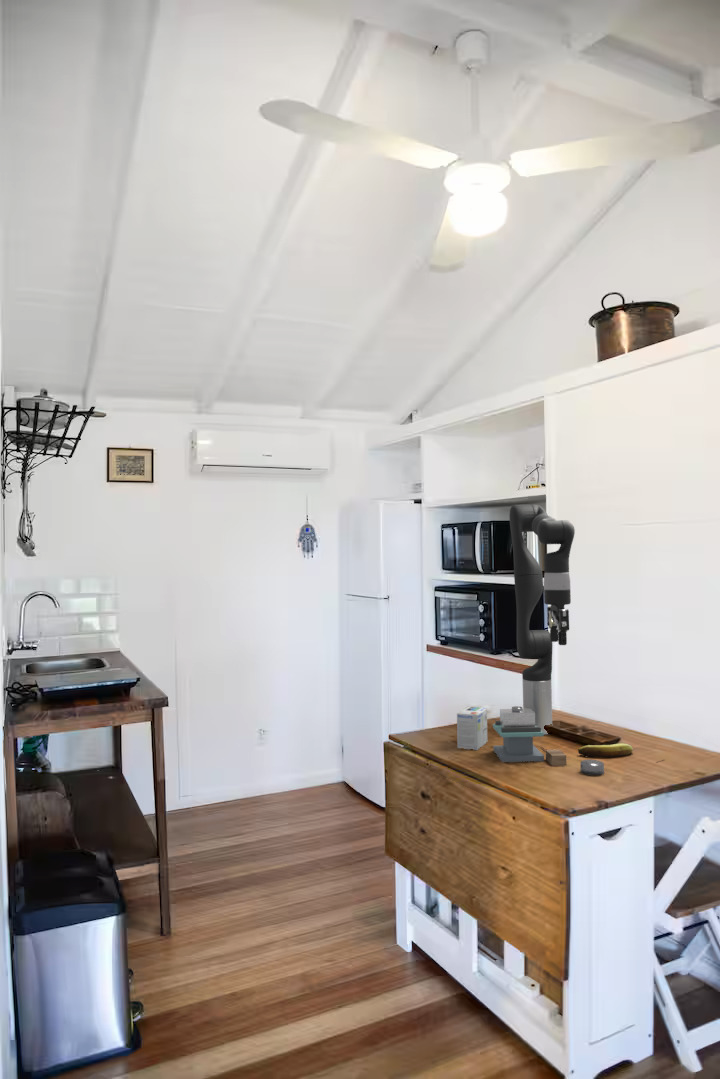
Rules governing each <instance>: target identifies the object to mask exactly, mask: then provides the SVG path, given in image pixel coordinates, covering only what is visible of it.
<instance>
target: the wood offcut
mask: <svg viewBox="0 0 720 1079" xmlns="http://www.w3.org/2000/svg"><path fill="white" fill-rule="evenodd" d="M566 758H567V754H565V753H564V752H563V751H562V750H561V749H548V750H546V751H545V761H547V762H548V763H549V764H550V765H551V766H552V767H553V766H555V767H556V766H557V767H558V766H567V763H568V762H567V759H566Z"/></svg>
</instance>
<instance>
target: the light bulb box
mask: <svg viewBox="0 0 720 1079" xmlns="http://www.w3.org/2000/svg"><path fill="white" fill-rule="evenodd" d="M456 728H457V729H456V731H457V732H456V733H457V734H456V736H457V739H456V740H457V743H456V744H457V749H461V748H464V749H463V750H470V749H473V750H472V751H479V749H480V747H481V748H482V747H483V746H485V745H486V744H487V743H488V708H487V707H478V706H477V707H476V706H467V707H465V708H463V709H462V710H461V711H459V712H457V713H456ZM486 742H487V743H486Z"/></svg>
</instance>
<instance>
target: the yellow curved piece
mask: <svg viewBox="0 0 720 1079" xmlns="http://www.w3.org/2000/svg"><path fill="white" fill-rule="evenodd" d="M541 749H542V750H543V751H544V752H546V751H545V750H547V749H543V748H542V747H541ZM633 750H634V749H633V747H632V745H630V744H627V743H614V744H602V745H599V744H598V745H597V744H595V745H592V744H591V745H590V744H588V745H583V746H582V747H579V748H578V749H577V752H578V754H579V755H582V756H584V757H585V756H587V757H586V758H592V757H607V758H618V756H619V757H624V755H626V756H629V755H630V754H632V752H633ZM566 758H567V759H566V760H568V761H570V760H571V758H568V757H566Z"/></svg>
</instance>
